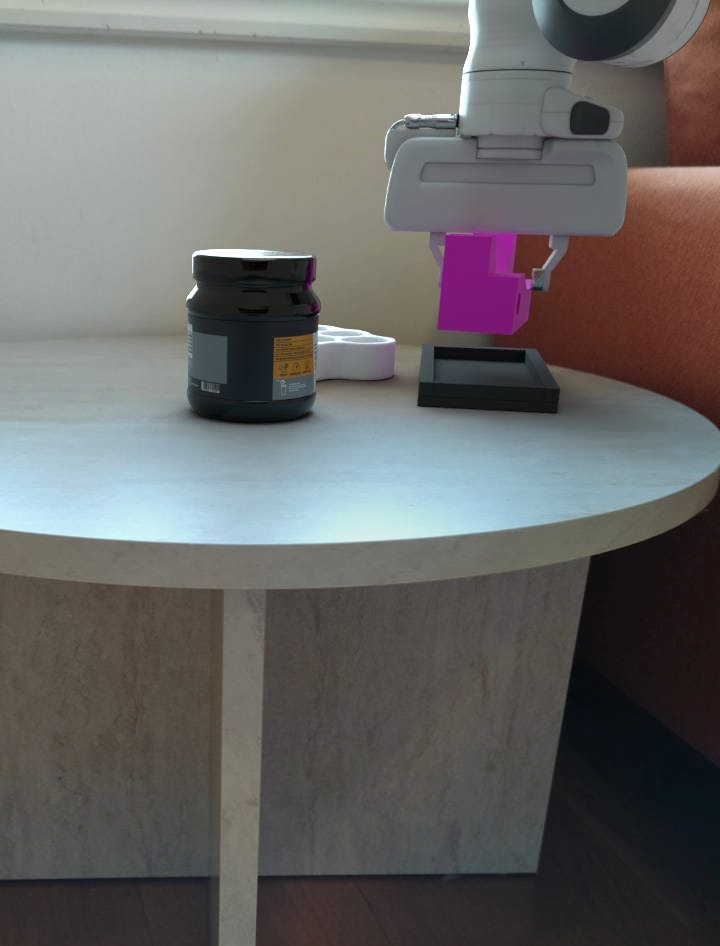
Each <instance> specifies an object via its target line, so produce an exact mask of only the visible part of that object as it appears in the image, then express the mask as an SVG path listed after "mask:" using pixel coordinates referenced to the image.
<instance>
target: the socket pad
mask: <svg viewBox="0 0 720 946" xmlns="http://www.w3.org/2000/svg"><path fill="white" fill-rule="evenodd" d="M421 345H422V346H421V356H420V365H419V366H420V367H419V378H418V380H419V381H418V390H417V391H418V393H417V402H416V403H417V405H416V406H418V407H435V408H436V407H437V408H453V409H456V408H457V409H473V410H474V409H475V410H492V411H512V412H530V413H531V412H532V413H533V412H534V413H553V414H556V413H558V408H559V402H560V401H559V400H560V393H561V387H560V386H559V384H558V383H557V381H556V379H555V377H554V376H553V374H552V372H551V371H550V368H549V367H548V365H547V363H546V362H545V361H544V359H543V356H542V355H541V354H540V352H539V350H538V349H537V348H525V347H522V348H521V347H505V346H504V347H501V346H499V347H498V346H480V345H478V346H477V345H453V344H452V345H451V344H433V343H432V344H430V343H422V344H421Z"/></svg>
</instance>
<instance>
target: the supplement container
mask: <svg viewBox="0 0 720 946" xmlns="http://www.w3.org/2000/svg"><path fill="white" fill-rule="evenodd" d="M191 259H192V267H191V268H192V269H191V271H192V272H191V273H192V276H191V277H192V279H193V280H194V281H195V287H193V289H192V290H191V291H190V293H189V294H188V295H187V297H186V299H185V310H186V312H187V388H186V398H187V402H188V404H189V406H190V407H191V408H192V409H194V411H196V412H198V413H199V414H201V415H203V416H205V417H209V418H213V419H218V420H222V421H223V420H224V421H231V422H232V421H233V422H246V423H249V422H250V423H267V422H268V423H269V422H279V421H286V420H291V419H296V418H298V417H301V416H303V415H305V414H306V413H308V412H310V411H311V410H312V409H313V407H314V406H315V403H316V401H317V390H316V385H317V381H316V366H317V345H318V325H320V324H319V322H320V321H319V320H320V314H321V311H322V302H321V300H320V298H319V296H318V294H317V293H316V292H315V291H314V289H313V287H312V286H313V283H315V282H316V280H317V261H318V259H317V256H316V255H315V254H314V253H311V252H305V251H297V250H287V249H286V250H285V249H265V248H264V249H263V248H259V249H257V248H227V249H226V248H223V249H222V248H221V249H220V248H219V249H218V248H217V249H205V250H198V251H195V252H194V253H193V254H192V258H191Z"/></svg>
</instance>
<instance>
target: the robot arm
mask: <svg viewBox="0 0 720 946" xmlns="http://www.w3.org/2000/svg"><path fill="white" fill-rule="evenodd" d="M711 2H712V0H469V3H468V22H469V27H470V28H469V29H470V45H469V50H468V54H467V57H466V59H465V62H464V65H463V69H462V78H461V89H460V99H459V110H458V113H456V114H455V113H454V114H453V113H451V114H450V113H448V114H447V113H446V114H445V113H443V114H442V113H441V114H432V115H424V114H423V115H422V114H421V113H410V114H406V115H404V119H400V120H397V121H396V122H394V123H393V124H392V125H391V126H390V127H389V129H388V130H387V132H386V135H385V141H384V142H385V143H384V156H383V157H384V162H385V166H386V167H387V169H389V171H390V174H389V179H388V182H387V183H388V184H387V189H386V196H385V200H384V201H385V203H384V208H383V222H384V224H385V225H386V227H387V228H388V229H389V230H390V231H391V232H411V233H414V232H415V233H416V232H417V233H419V232H421V233H429V242H428V247H429V249H430V252H431V254H432V256H433V258H434V260H435V262H436V265H437V267H438V270H439V271H438V279H437V289H441V281H442V271H443V260H444V254H443V253H442V251H441V248H440V247H445V239H446V235H447V233H450V234H473V233H490V234H517V235H534V236H535V235H536V236H537V235H538V236H549V240H548V241H549V242H548V247H549V248H550V249H551V250H553V251H552V252H551V254H550V255H549V257H548V258H547V260H546V261H545V263H544V264H543V266H542V267H541V268H539V267H538V268H533V267H532V270H531V278H532V281H531V284H530V290H531V291H532V292H549V289H550V283H551V275H552V271H553V270H554V269H556V266H557V265H558V264H559V262H560V261H561V259H562V258H563V257H564V255H565V254H566V253H567V252H568V247H569V241H570V236H571V237H572V236H573V237H574V236H576V237H610V238H611V237H613V236H614V235H616V234H617V233H618V232H619V230H621V228H622V227H623V225H624V222H625V217H626V209H627V208H626V207H627V200H628V199H627V198H628V178H629V177H628V174H629V173H628V160H627V156H626V153H625V151H624V149H623V148H622V146H621V145H620V144H619V143H618V142H616V141H615V140H614V139H616V138H618V137H619V136H620V135H621V133H622V132H623V131H622V130H623V129H624V123H625V115H624V112H623V111H622V110H621V109H620V108H617V107H615V106H612V105H610V104H607V103H604V102H601V101H599V100H596V99H594V98H591V97H590V96H586V95H581V94H579V93H576V92H573V90H572V89H571V88H572V82H573V74H574V68H575V65H576V63H577V62H578V61H582V62H601V63H604V64H608V65H612V66H617V67H621V68H641V67H647V66H651V65H653V64H656V63H659V62H662V61H664V60H666V59H667V58H670V57H672V56H674V55H675V54H676V53H678V52H679V51H680V50H681V49H683V48H684V47H685V46H686V45H687V44H688V43H689V42H690V41H691V40H692V39H693V37H694V36H695V35H696V33H697V32H698V31H699V29H700V27H701V26H702V25H703V22H704V21H705V19H706V16H707V15H708V12H709V9H710V5H711ZM401 126H403V127H404V128H399V127H401Z"/></svg>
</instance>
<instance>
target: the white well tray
mask: <svg viewBox="0 0 720 946" xmlns="http://www.w3.org/2000/svg"><path fill="white" fill-rule="evenodd" d="M396 347H397V342H396V339H395V338H393V337H389V336H381V335H375V334H371V333H370V332H369V331H364V330H360V329H349V328H341V327H337V326H334V325H324V324H318V345H317V366H316V382H318V381H325V380H352V381H379V380H386V379H387V380H388V379H390V378H392V377H393V375H394V374H395V373H394V372H395V360H396V359H395V358H396Z"/></svg>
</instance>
